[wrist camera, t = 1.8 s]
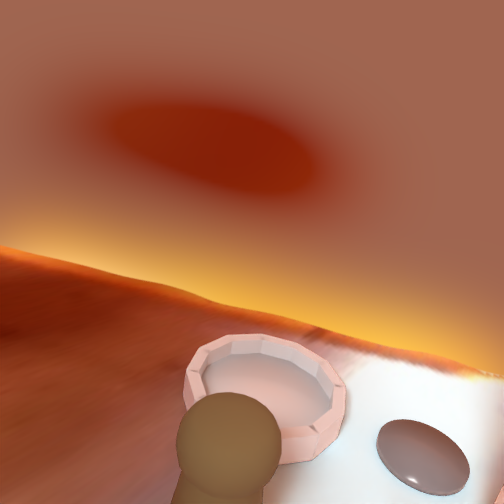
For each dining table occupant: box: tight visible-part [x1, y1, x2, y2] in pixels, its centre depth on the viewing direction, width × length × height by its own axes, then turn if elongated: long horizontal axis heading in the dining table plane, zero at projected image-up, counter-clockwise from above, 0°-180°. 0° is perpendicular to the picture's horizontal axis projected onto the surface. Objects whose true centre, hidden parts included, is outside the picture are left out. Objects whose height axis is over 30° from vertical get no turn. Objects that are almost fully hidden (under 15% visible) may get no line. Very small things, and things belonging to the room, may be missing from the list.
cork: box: [171, 392, 282, 504], centre depth 25 cm, size 6×6×11 cm
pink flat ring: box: [183, 334, 346, 465], centre depth 40 cm, size 13×13×2 cm
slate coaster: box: [376, 419, 470, 496], centre depth 38 cm, size 7×7×1 cm
